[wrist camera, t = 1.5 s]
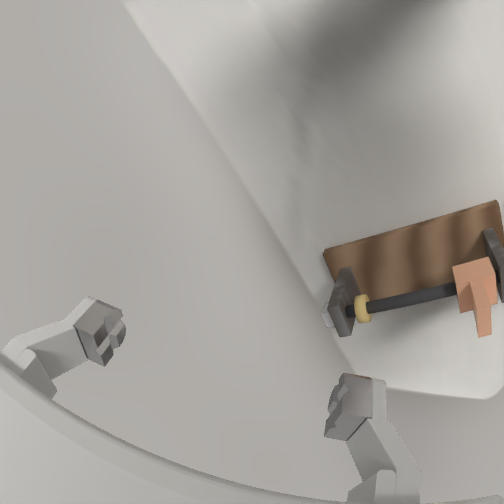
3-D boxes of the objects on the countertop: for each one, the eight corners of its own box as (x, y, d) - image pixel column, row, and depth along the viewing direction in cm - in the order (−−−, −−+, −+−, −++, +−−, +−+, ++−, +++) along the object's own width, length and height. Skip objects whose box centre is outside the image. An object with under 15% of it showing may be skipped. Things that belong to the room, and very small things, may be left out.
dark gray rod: (498, 254, 29) (505, 270, 26) (500, 278, 30) (507, 295, 27) (324, 297, 42) (317, 314, 39) (333, 317, 43) (327, 334, 40)
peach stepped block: (488, 256, 29) (505, 300, 22) (491, 284, 30) (505, 331, 24) (452, 266, 32) (461, 312, 25) (456, 293, 33) (464, 341, 26)
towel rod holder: (495, 199, 32) (522, 236, 23) (505, 267, 35) (524, 314, 26) (324, 249, 47) (305, 292, 38) (349, 305, 50) (335, 353, 41)
